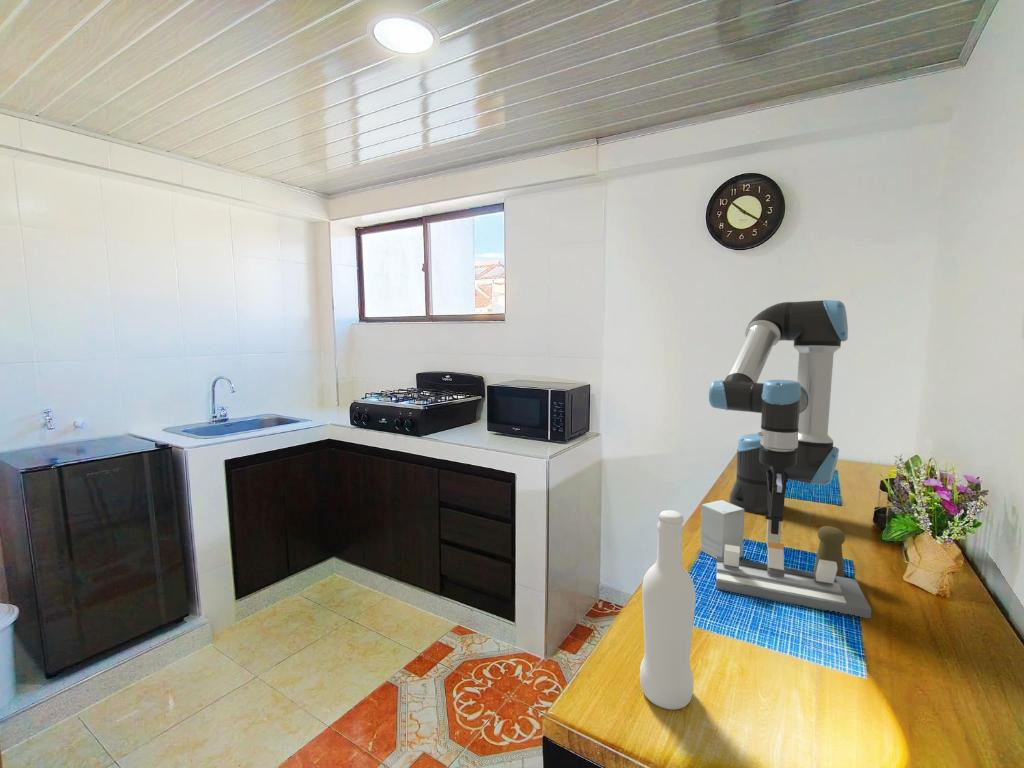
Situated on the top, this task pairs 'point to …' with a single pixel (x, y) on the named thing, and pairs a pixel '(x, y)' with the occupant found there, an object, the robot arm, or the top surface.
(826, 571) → the white block
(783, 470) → the robot arm
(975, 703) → the top surface
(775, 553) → the paddle
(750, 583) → the breaker panel
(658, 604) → the bottle
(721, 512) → the supplement box
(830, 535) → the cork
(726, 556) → the white block
